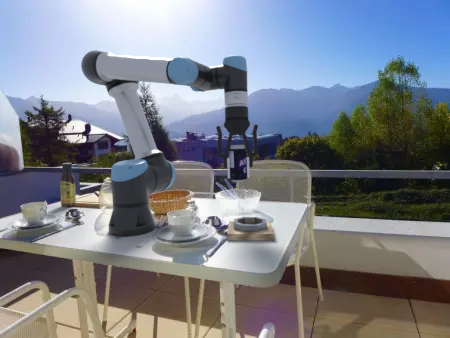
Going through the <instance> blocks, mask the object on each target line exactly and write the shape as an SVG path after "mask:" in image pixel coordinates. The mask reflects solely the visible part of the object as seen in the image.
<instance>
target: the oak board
mask: <svg viewBox="0 0 450 338" xmlns="http://www.w3.org/2000/svg"><path fill="white" fill-rule="evenodd" d="M266 222H267V229H265V230H262V231H259V232H242V231H238V230H235V229H234V220H232V221H230V220H229V222H228V227H227V232H226V237H227V238H226V241H275V232H274V229H273V226H272V222H271V220H270V221H269V220H266Z"/></svg>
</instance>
